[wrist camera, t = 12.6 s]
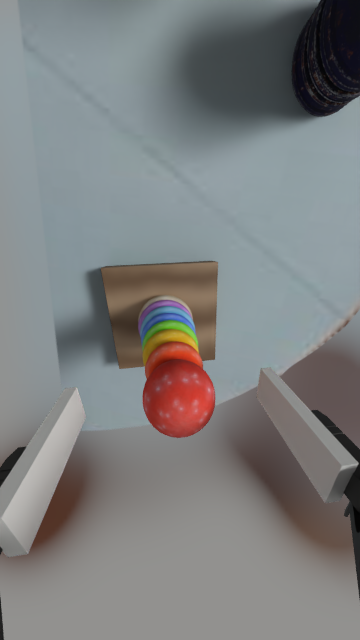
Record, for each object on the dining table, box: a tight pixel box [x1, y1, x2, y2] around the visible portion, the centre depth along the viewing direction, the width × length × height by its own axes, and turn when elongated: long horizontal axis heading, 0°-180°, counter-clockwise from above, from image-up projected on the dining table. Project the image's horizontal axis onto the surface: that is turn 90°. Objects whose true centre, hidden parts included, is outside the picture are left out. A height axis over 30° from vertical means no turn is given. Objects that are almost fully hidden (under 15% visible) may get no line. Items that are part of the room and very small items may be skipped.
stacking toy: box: [138, 295, 215, 438], centre depth 20 cm, size 8×8×19 cm
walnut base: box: [101, 261, 218, 369], centre depth 30 cm, size 16×16×3 cm
